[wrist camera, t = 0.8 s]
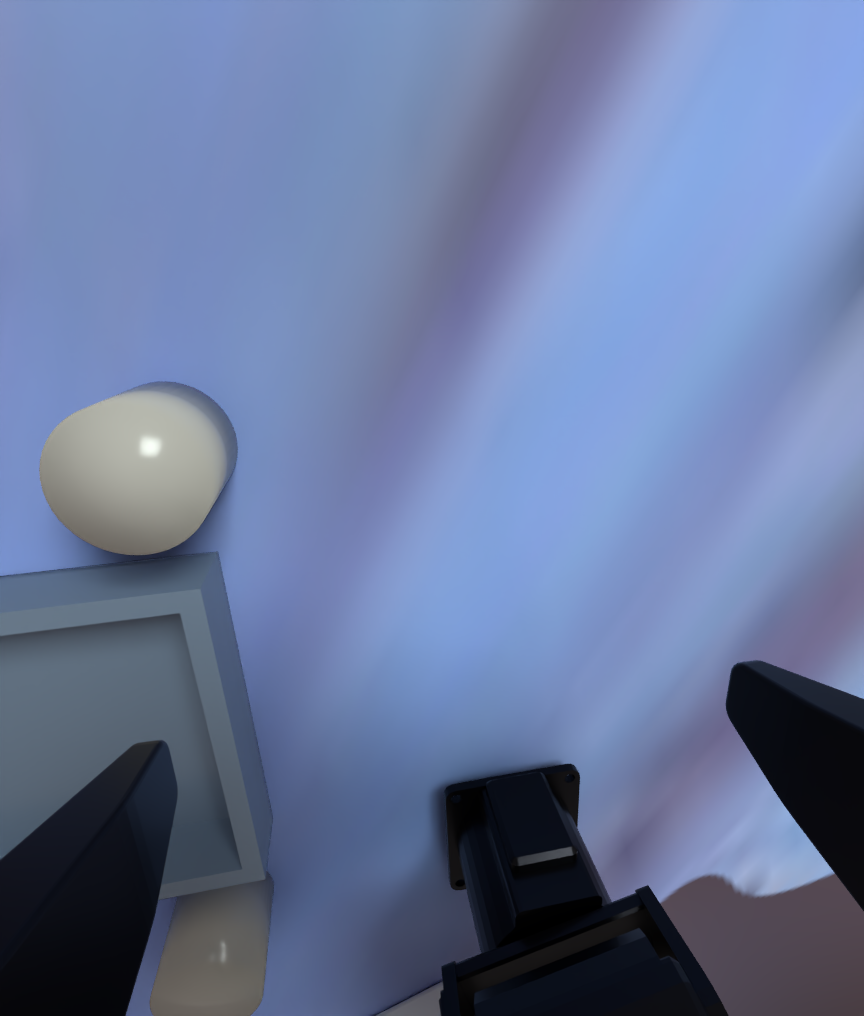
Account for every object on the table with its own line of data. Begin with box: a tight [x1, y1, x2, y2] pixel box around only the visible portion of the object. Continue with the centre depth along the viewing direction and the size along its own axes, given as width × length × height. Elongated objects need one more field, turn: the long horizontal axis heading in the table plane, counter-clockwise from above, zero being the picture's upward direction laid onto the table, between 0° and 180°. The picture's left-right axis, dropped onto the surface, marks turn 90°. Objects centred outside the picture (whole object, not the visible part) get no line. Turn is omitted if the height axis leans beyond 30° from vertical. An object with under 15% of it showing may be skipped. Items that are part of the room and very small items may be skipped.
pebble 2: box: [150, 871, 274, 1016], centre depth 25 cm, size 4×4×4 cm
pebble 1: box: [39, 382, 238, 555], centre depth 17 cm, size 4×4×4 cm
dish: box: [0, 552, 273, 900], centre depth 21 cm, size 14×14×3 cm
